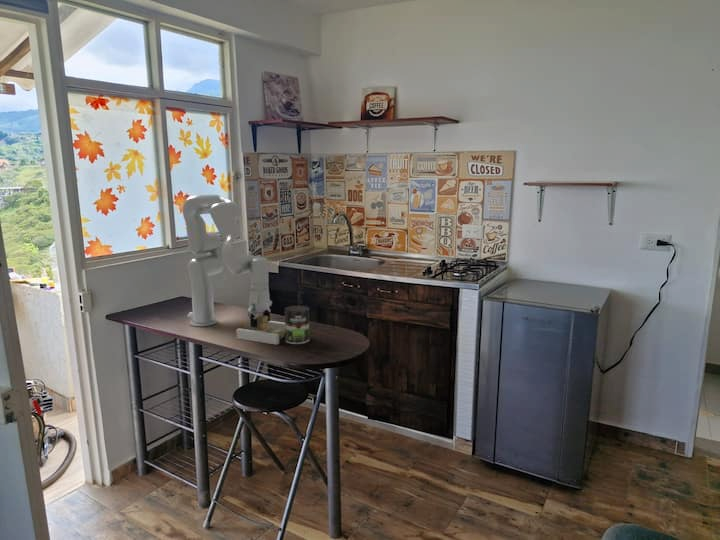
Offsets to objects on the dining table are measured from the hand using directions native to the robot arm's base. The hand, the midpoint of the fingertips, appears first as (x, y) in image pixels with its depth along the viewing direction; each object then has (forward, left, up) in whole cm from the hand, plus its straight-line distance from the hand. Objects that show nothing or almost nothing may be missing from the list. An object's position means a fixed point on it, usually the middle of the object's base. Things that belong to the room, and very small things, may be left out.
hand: (260, 324), depth 218 cm
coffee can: (+19, 0, -5) cm, 19 cm away
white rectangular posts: (+4, 0, -5) cm, 6 cm away
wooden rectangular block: (+5, 0, -5) cm, 7 cm away
